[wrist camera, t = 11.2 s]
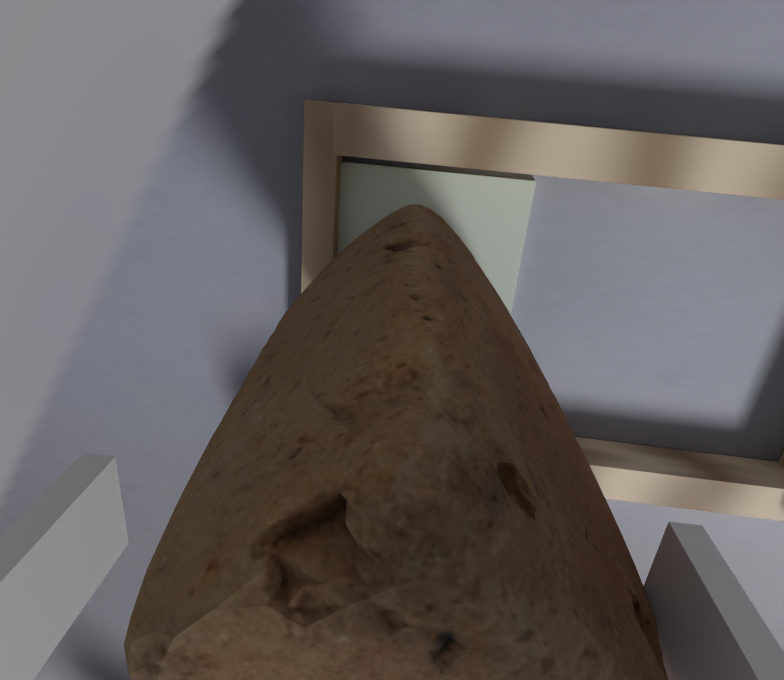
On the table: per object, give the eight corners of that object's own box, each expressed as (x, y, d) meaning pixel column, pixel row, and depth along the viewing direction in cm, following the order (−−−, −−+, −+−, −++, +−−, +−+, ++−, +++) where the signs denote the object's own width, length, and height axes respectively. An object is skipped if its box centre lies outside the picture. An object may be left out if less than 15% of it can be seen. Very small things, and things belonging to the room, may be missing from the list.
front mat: (331, 399, 30) (331, 402, 30) (342, 161, 25) (341, 161, 24) (489, 418, 30) (490, 421, 29) (535, 180, 24) (536, 181, 24)
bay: (305, 432, 31) (287, 476, 28) (312, 99, 24) (288, 99, 20) (791, 493, 30) (839, 547, 26) (960, 161, 22) (1059, 172, 19)
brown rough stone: (296, 269, 25) (-2, 691, 7) (424, 174, 23) (455, 428, 5) (425, 425, 29) (443, 981, 11) (547, 354, 27) (826, 890, 9)
